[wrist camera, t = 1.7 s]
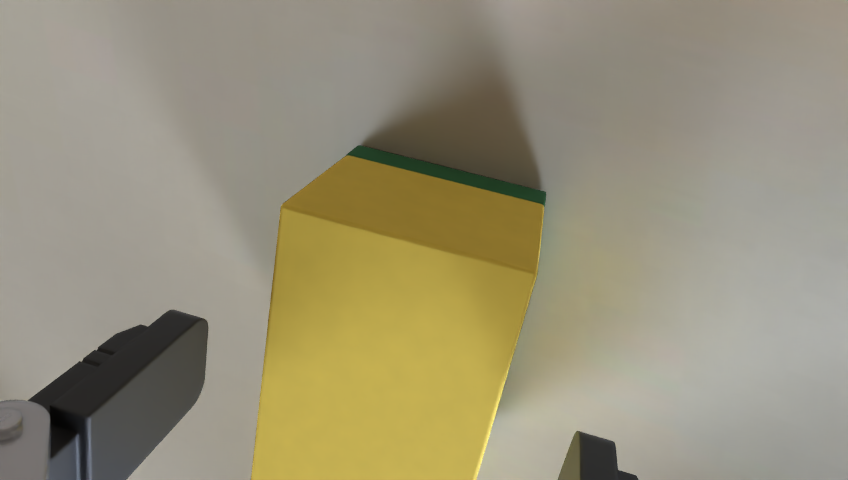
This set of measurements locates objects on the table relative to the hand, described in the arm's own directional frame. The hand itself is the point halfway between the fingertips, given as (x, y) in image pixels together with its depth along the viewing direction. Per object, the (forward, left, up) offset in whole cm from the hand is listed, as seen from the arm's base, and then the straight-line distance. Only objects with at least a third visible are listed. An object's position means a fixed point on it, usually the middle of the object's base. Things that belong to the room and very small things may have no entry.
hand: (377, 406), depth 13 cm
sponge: (0, 0, -5) cm, 5 cm away
